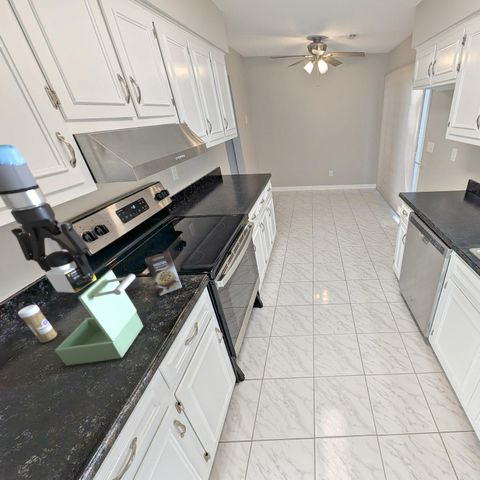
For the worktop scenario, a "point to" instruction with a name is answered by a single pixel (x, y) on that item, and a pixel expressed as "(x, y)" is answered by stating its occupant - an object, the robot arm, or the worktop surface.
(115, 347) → the green storage bin
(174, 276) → the coffee box
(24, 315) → the sprinkles bottle
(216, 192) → the worktop surface
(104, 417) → the worktop surface
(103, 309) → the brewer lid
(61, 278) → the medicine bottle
